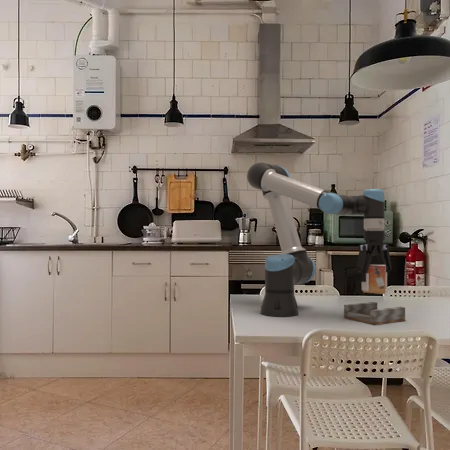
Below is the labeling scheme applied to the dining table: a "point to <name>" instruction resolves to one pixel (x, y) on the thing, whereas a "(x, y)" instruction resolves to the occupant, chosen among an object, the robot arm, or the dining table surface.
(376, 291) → the small box
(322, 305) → the dining table surface
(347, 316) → the cradle
